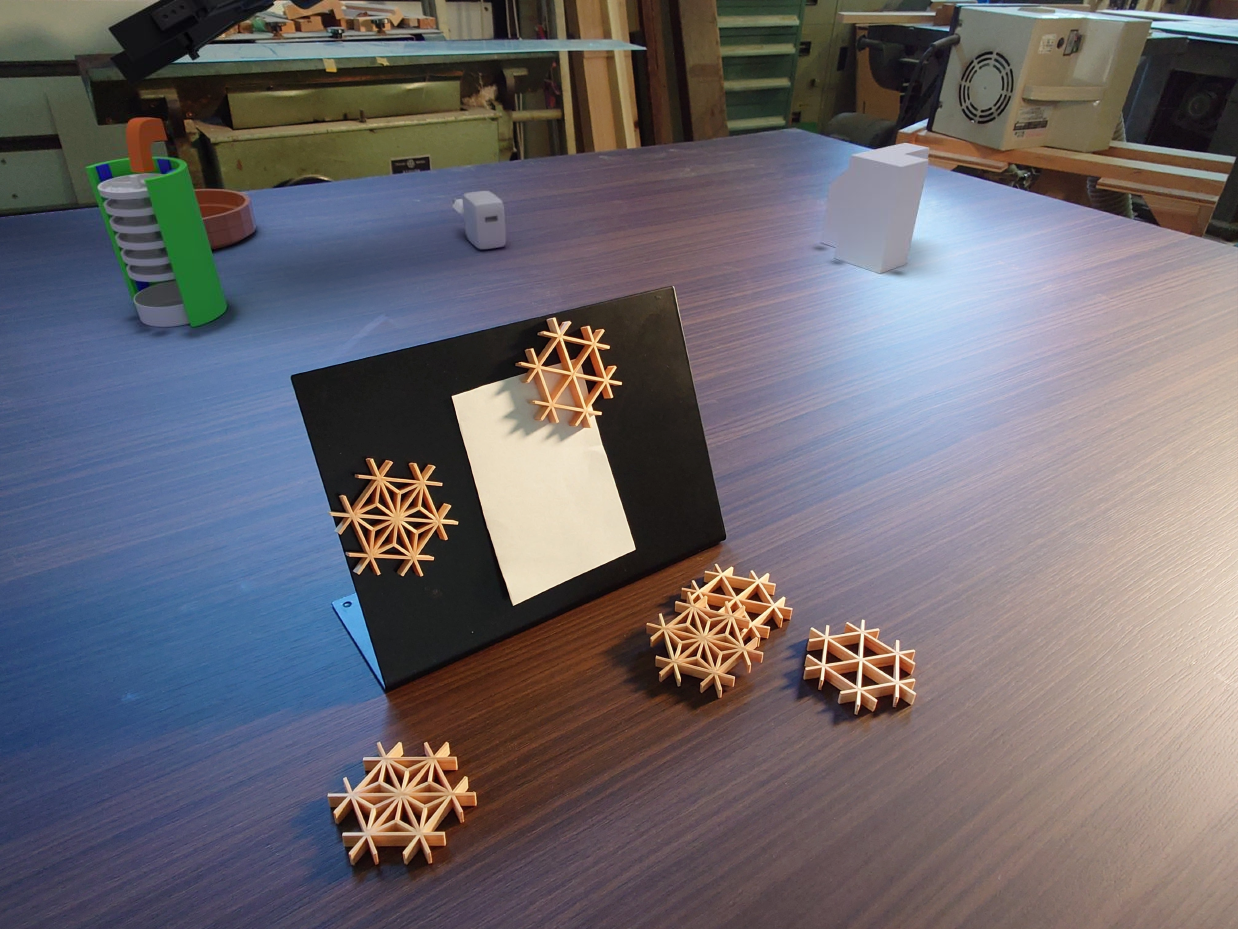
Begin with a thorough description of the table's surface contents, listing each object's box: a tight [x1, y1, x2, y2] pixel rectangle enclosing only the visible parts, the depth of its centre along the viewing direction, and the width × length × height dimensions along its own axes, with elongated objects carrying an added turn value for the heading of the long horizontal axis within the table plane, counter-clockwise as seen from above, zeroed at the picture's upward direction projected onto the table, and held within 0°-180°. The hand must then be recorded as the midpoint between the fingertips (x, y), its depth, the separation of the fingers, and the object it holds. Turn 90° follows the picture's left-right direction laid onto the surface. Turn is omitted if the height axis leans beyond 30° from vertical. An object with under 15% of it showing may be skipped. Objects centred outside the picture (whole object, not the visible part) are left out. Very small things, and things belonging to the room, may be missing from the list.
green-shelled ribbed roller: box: [84, 116, 228, 328], centre depth 77 cm, size 9×8×18 cm
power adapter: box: [452, 190, 507, 250], centre depth 101 cm, size 11×5×6 cm, turn 26°
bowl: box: [194, 188, 258, 251], centre depth 100 cm, size 14×14×4 cm
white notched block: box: [820, 142, 931, 274], centre depth 97 cm, size 11×11×12 cm
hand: (120, 59), depth 74 cm, fingers open, 13 cm apart
